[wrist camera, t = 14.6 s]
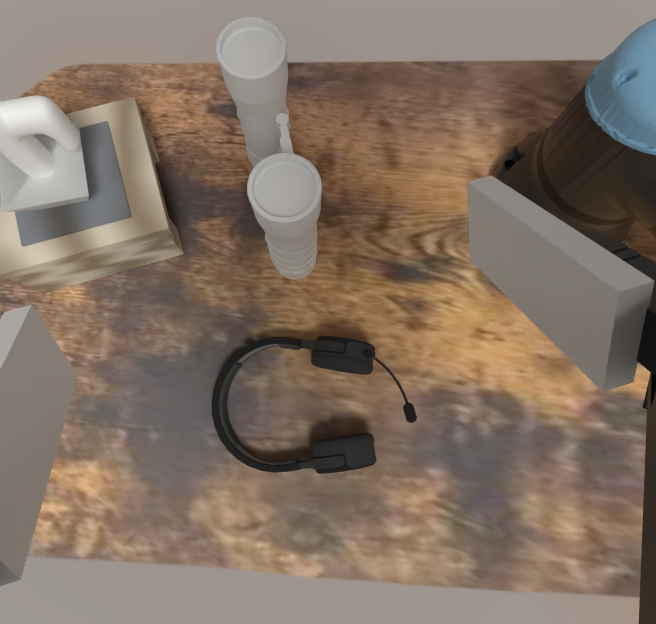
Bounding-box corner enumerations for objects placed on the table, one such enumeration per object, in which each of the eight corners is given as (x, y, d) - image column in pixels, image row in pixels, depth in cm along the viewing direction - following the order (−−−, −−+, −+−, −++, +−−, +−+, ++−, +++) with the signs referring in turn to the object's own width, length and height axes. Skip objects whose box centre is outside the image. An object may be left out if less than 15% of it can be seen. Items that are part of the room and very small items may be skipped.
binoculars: (325, 277, 54) (329, 213, 37) (275, 288, 54) (255, 229, 36) (289, 132, 57) (278, 9, 40) (242, 142, 57) (209, 22, 39)
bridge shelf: (157, 137, 57) (133, 94, 49) (188, 252, 55) (167, 227, 47) (13, 174, 56) (-35, 137, 48) (38, 294, 53) (-8, 275, 46)
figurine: (118, 209, 47) (27, 118, 32) (14, 229, 46) (-127, 146, 32) (107, 139, 48) (15, 20, 34) (6, 157, 48) (-133, 45, 33)
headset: (418, 483, 41) (187, 479, 43) (411, 471, 50) (220, 468, 52) (414, 325, 44) (195, 327, 46) (407, 339, 53) (225, 341, 55)
